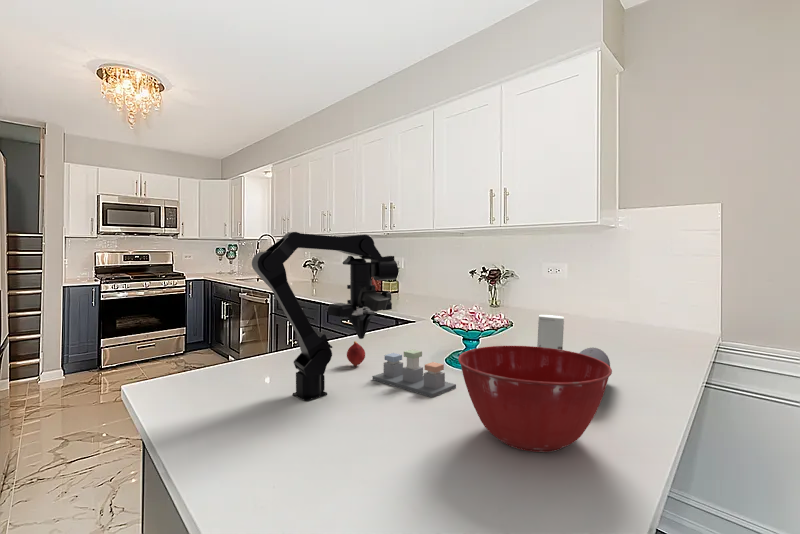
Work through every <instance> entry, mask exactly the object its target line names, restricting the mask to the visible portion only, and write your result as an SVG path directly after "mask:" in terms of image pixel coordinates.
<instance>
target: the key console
mask: <svg viewBox="0 0 800 534" xmlns="http://www.w3.org/2000/svg"><path fill="white" fill-rule="evenodd" d="M445 374H446V373H445V372H444V371H441V373H440V374H437V375H432V374H428V371H426V372H424V367H423V366H419V368H417V369H414V370H412V369H409V368H407V366H404V362H401V361H399V363H398V364H394V365H393V364H389V363H387V361H386V362H383V372H381V373H379V374H374V375H372V381H373V380H374V381H377V382H380V383H383V384H386V385H389V386H393V387H395V388H396V387H397V388H399V389H404V390H406V391H409V392H412V393H416V394H419V395H422V396H423V395H424V396H426V397H429V398H432V399H433V398H436V397H437V396H440V395H442V394H445V393H447V392H450V391H452V390H455V389H456V388H457V384H456V383H453V382H448V381H446V380H445V379H446V375H445Z"/></svg>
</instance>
